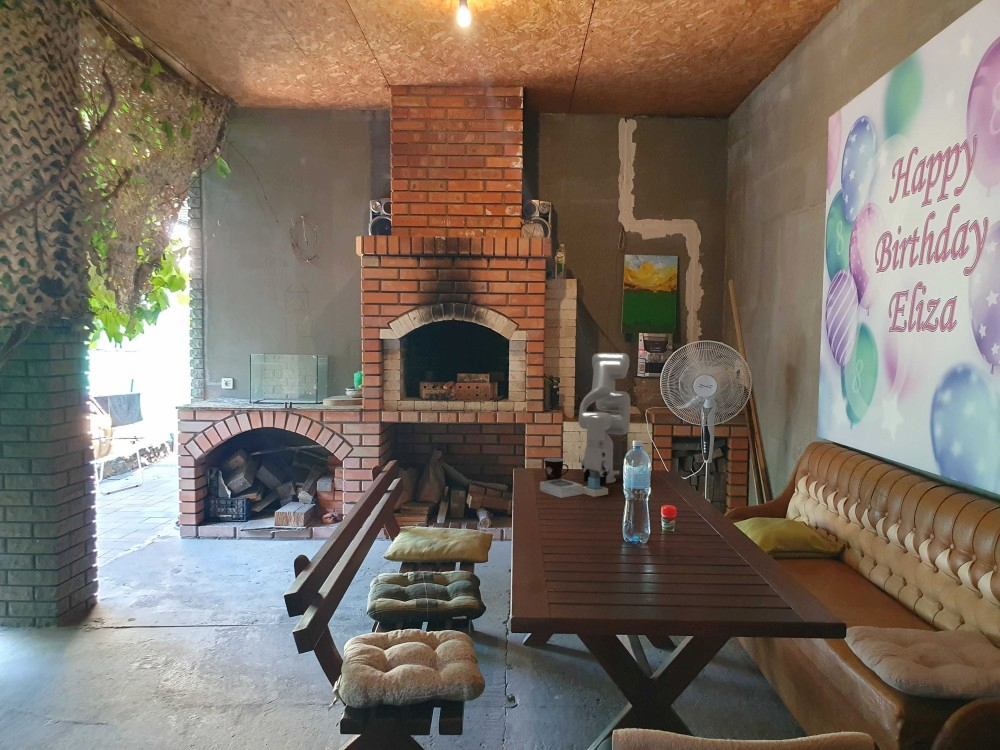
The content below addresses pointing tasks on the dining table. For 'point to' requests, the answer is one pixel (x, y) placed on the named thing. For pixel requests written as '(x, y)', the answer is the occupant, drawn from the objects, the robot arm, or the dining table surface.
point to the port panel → (561, 488)
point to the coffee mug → (554, 468)
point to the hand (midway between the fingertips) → (594, 483)
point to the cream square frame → (595, 491)
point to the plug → (594, 480)
